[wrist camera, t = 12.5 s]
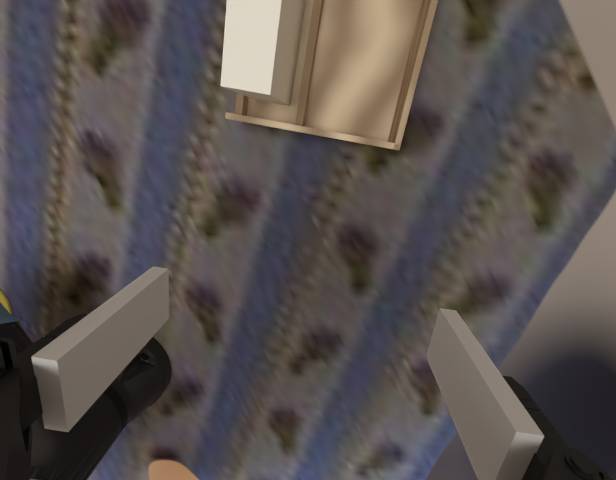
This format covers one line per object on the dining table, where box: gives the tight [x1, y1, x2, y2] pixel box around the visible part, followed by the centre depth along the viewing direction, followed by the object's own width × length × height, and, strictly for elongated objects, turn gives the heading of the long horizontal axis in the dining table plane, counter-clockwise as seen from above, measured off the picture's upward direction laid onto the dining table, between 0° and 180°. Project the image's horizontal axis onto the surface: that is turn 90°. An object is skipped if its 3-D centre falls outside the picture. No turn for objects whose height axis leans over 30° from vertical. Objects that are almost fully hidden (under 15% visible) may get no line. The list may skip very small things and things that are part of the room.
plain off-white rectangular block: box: [221, 0, 306, 106], centre depth 29 cm, size 4×11×12 cm, turn 170°
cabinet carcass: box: [225, 0, 438, 150], centre depth 33 cm, size 18×16×6 cm
